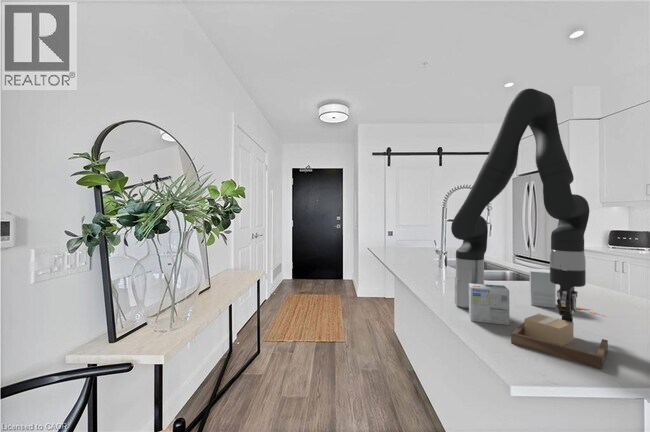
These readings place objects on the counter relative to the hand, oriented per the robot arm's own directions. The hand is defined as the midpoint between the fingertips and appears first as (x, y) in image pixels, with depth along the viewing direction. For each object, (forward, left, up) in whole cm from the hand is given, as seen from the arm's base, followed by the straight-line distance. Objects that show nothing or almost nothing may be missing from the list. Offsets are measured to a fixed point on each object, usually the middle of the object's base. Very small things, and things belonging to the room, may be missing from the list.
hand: (567, 329), depth 79 cm
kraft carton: (-6, -4, -2) cm, 7 cm away
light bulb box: (-18, +7, -2) cm, 19 cm away
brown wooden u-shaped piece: (-5, -8, -2) cm, 10 cm away
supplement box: (+5, +31, -2) cm, 31 cm away
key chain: (+15, +27, -2) cm, 31 cm away
